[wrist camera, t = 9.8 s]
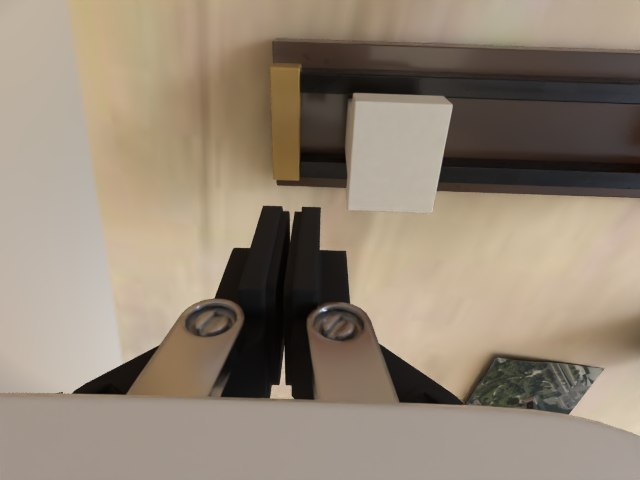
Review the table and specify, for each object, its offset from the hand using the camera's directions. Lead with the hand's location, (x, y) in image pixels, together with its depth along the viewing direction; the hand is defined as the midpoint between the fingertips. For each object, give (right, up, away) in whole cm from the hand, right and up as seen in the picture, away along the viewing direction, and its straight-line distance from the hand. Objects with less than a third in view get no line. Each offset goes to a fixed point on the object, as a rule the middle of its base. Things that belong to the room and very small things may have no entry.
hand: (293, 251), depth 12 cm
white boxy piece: (+4, +7, +10) cm, 13 cm away
